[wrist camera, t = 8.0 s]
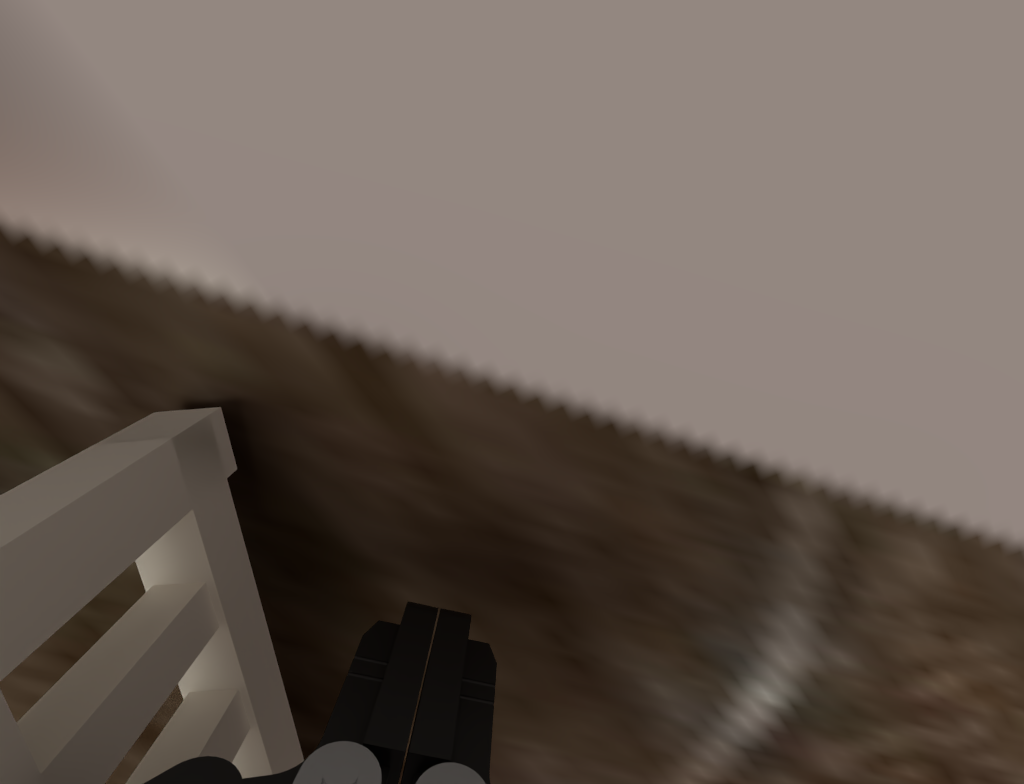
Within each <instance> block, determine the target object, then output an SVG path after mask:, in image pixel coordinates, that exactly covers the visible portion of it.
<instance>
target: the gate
mask: <svg viewBox="0 0 1024 784" xmlns="http://www.w3.org/2000/svg"><path fill="white" fill-rule="evenodd" d="M236 470H237V466H236V462H235V458H234V454H233V451H232V447H231V443H230V439H229V435H228V432H227V428H226V424H225V420H224V417H223V413H222V409H221V407H214V408H202V409H190V410H177V411H165V412H154V413H152V414H151V415H149V416H147V417H145V418H143V419H141V420H139V421H138V422H136V423H134V424H132V425H130V426H128V427H126V428H125V429H123V430H121V431H119V432H117V433H115V434H113V435H112V436H110V437H108V438H106V439H104V440H102V441H100V442H98V443H97V444H95V445H93V446H91V447H89V448H87V449H85V450H84V451H82V452H80V453H78V454H76V455H74V456H72V457H71V458H69V459H67V460H65V461H63V462H61V463H59V464H58V465H56V466H54V467H52V468H50V469H48V470H46V471H45V472H43V473H41V474H39V475H37V476H35V477H33V478H32V479H30V480H28V481H26V482H24V483H22V484H20V485H19V486H17V487H15V488H13V489H11V490H9V491H7V492H6V493H4V494H2V495H0V681H1V680H2V679H3V678H5V677H6V676H7V675H8V674H9V673H10V672H11V671H12V670H13V669H15V668H16V667H17V666H18V665H19V664H20V663H21V662H22V661H24V660H25V659H26V658H27V657H28V656H29V655H30V654H31V653H32V652H34V651H35V650H36V649H37V648H38V647H39V646H40V645H41V644H43V643H44V642H45V641H46V640H47V639H48V638H49V637H50V636H51V635H53V634H54V633H55V632H56V631H57V630H58V629H59V628H60V627H62V626H63V625H64V624H65V623H66V622H67V621H68V620H69V619H70V618H72V617H73V616H74V615H75V614H76V613H77V612H78V611H79V610H81V609H82V608H83V607H84V606H85V605H86V604H87V603H88V602H89V601H91V600H92V599H93V598H94V597H95V596H96V595H97V594H98V593H99V592H101V591H102V590H103V589H104V588H105V587H106V586H107V585H108V584H110V583H111V582H112V581H113V580H114V579H115V578H116V577H117V576H118V575H120V574H121V573H122V572H123V571H124V570H125V569H126V568H127V567H129V566H130V565H131V564H132V563H133V562H134V561H135V562H136V565H137V567H138V570H139V573H140V576H141V579H142V582H143V585H144V587H145V590H146V593H145V594H144V595H143V596H142V597H141V598H140V599H139V600H138V601H137V602H136V603H135V604H134V605H133V606H132V607H131V608H130V609H129V610H128V611H127V612H126V613H125V614H124V615H123V616H122V617H121V618H120V619H119V620H118V621H117V622H116V623H115V624H114V625H113V626H112V627H111V628H110V629H109V630H108V631H107V632H106V633H105V634H104V635H103V636H102V637H101V638H100V639H99V640H98V641H97V642H96V643H95V644H94V645H93V646H92V647H91V648H90V649H89V650H88V651H87V652H86V653H85V654H84V655H83V656H82V657H81V658H80V659H79V660H78V661H77V662H76V663H75V664H74V665H73V666H72V667H71V668H70V669H69V670H68V671H67V672H66V673H65V674H64V675H63V676H62V677H61V678H60V679H59V681H58V682H57V683H56V684H55V685H54V686H53V687H52V688H51V689H50V690H49V691H48V692H47V693H46V694H45V695H44V696H43V697H42V698H41V699H40V700H39V701H38V702H37V703H36V704H35V705H34V706H33V707H32V708H31V709H30V710H29V711H28V712H27V713H26V714H25V715H24V716H23V717H22V718H21V719H20V720H19V721H18V722H17V723H16V721H15V719H14V717H13V715H12V713H11V711H10V709H9V707H8V705H7V702H6V700H5V698H4V696H3V694H2V692H1V690H0V784H105V782H106V781H107V780H108V778H109V777H110V775H111V774H112V773H113V771H114V770H115V769H116V767H117V766H118V765H119V763H120V762H121V760H122V759H123V758H124V756H125V755H126V754H127V752H128V751H129V750H130V748H131V747H132V745H133V744H134V743H135V741H136V740H137V739H138V737H139V736H140V735H141V733H142V732H143V730H144V729H145V728H146V726H147V725H148V724H149V722H150V721H151V720H152V718H153V717H154V715H155V714H156V713H157V711H158V710H159V709H160V707H161V706H162V705H163V703H164V702H165V700H166V699H167V698H168V696H169V695H170V694H171V692H172V691H173V690H174V688H175V687H176V685H177V684H178V685H179V688H180V691H181V694H182V696H183V699H184V700H183V702H182V703H181V705H180V706H179V707H178V709H177V710H176V712H175V713H174V715H173V716H172V718H171V719H170V720H169V722H168V723H167V725H166V726H165V728H164V729H163V730H162V732H161V733H160V735H159V736H158V738H157V739H156V741H155V742H154V743H153V745H152V746H151V748H150V749H149V751H148V752H147V753H146V755H145V756H144V758H143V759H142V761H141V762H140V764H139V765H138V766H137V768H136V769H135V771H134V772H133V774H132V775H131V776H130V778H129V779H128V781H127V782H126V784H143V783H145V782H147V781H149V780H151V779H152V778H154V777H156V776H158V775H159V774H161V773H163V772H165V771H166V770H168V769H170V768H172V767H173V766H175V765H177V764H179V763H181V762H183V761H186V760H189V759H192V758H196V757H203V756H214V757H220V758H223V759H226V760H228V761H230V762H231V763H232V764H234V765H235V766H236V768H237V769H238V770H239V772H240V774H241V776H242V779H243V778H251V777H258V776H266V775H272V774H277V773H281V772H284V771H287V770H289V769H291V768H293V767H295V766H297V765H299V764H300V763H302V762H303V761H304V758H303V754H302V750H301V747H300V743H299V739H298V736H297V732H296V728H295V725H294V721H293V717H292V714H291V710H290V707H289V703H288V699H287V696H286V692H285V688H284V685H283V681H282V677H281V674H280V670H279V666H278V663H277V659H276V656H275V652H274V648H273V645H272V641H271V637H270V634H269V630H268V626H267V623H266V619H265V615H264V612H263V608H262V605H261V601H260V597H259V594H258V590H257V586H256V583H255V579H254V575H253V572H252V568H251V564H250V561H249V557H248V554H247V550H246V546H245V543H244V539H243V535H242V532H241V528H240V524H239V521H238V517H237V513H236V510H235V506H234V502H233V499H232V495H231V492H230V488H229V484H228V481H227V478H228V477H229V476H230V475H231V474H232V473H234V472H235V471H236Z"/></svg>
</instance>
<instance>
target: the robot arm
mask: <svg viewBox="0 0 1024 784" xmlns="http://www.w3.org/2000/svg"><path fill="white" fill-rule="evenodd" d="M437 612H438V608H436V607H431V606H427V605H422V604H417V603H413V602H408V603H407V606H406V609H405V612H404V615H403V618H402V621H401V625H398V624H393V623H388V622H384V621H378V622H377V623H376V624H375V625H374V626H372V627H371V628H370V629H369V630H368V631H367V632H366V633H365V634H364V635H363V637H362V639H361V642H360V644H359V647H358V649H357V652H356V654H355V658H354V659H353V662H352V664H351V667H350V669H349V672H348V676H347V677H346V679H345V682H344V684H343V687H342V689H341V692H340V695H339V697H338V700H337V702H336V705H335V707H334V710H333V712H332V715H331V717H330V720H329V722H328V725H327V727H326V730H325V732H324V735H323V737H322V739H321V741H320V743H319V745H318V746H317V748H316V749H315V751H314V752H313V753H312V754H311V755H310V756H309V757H308V758H307V759H306V760H304V761H303V762H302V763H300V764H299V765H297V766H295V767H293V768H291V769H289V770H287V771H284V772H281V773H277V774H272V775H266V776H258V777H251V778H243V779H242V776H241V774H240V772H239V770H238V769H237V768H236V766H235V765H234V764H232V763H231V762H230V761H228V760H226V759H223V758H220V757H214V756H203V757H196V758H192V759H189V760H186V761H183V762H181V763H179V764H177V765H175V766H173V767H172V768H170V769H168V770H166V771H165V772H163V773H161V774H159V775H158V776H156V777H154V778H152V779H151V780H149V781H147V782H145V783H143V784H398V781H399V777H400V773H401V769H402V764H403V760H404V756H405V752H406V747H407V743H408V738H409V734H410V730H411V725H412V721H413V717H414V712H415V708H416V704H417V699H418V695H419V691H420V686H421V682H422V678H423V673H424V669H425V665H426V660H427V656H428V652H429V647H430V643H431V638H432V634H433V630H434V625H435V621H436V617H437ZM470 622H471V615H469V614H465V613H460V612H455V611H451V610H446V609H441V610H440V614H439V618H438V622H437V627H436V631H435V635H434V639H433V644H432V648H431V652H430V656H429V661H428V665H427V669H426V674H425V678H424V682H423V687H422V691H421V696H420V700H419V704H418V709H417V713H416V718H415V722H414V727H413V731H412V736H411V740H410V744H409V749H408V753H407V758H406V762H405V767H404V771H403V776H402V780H401V784H490V778H489V768H490V753H491V739H492V725H493V710H494V706H493V704H494V696H495V681H496V667H497V663H496V660H495V658H494V655H493V653H492V650H491V648H490V645H489V644H488V643H484V642H479V641H474V640H469V639H468V636H469V629H470Z"/></svg>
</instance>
